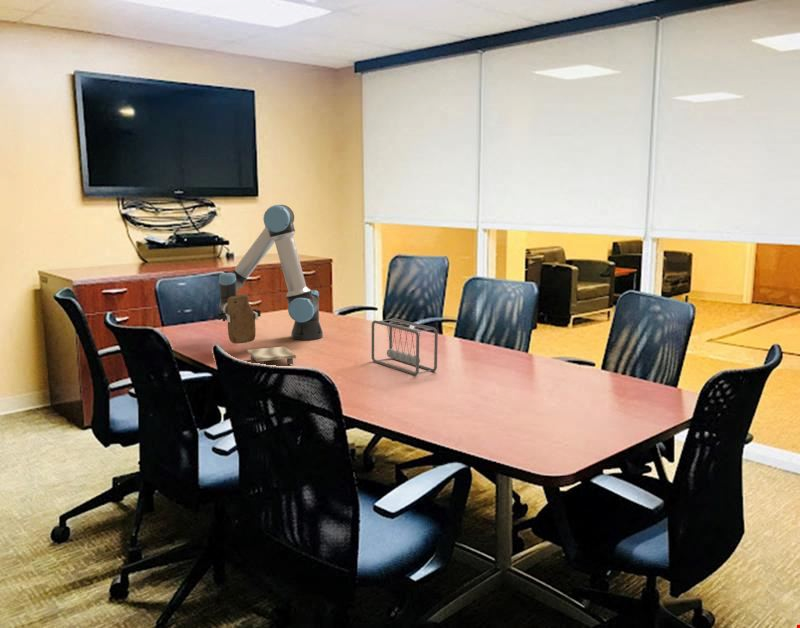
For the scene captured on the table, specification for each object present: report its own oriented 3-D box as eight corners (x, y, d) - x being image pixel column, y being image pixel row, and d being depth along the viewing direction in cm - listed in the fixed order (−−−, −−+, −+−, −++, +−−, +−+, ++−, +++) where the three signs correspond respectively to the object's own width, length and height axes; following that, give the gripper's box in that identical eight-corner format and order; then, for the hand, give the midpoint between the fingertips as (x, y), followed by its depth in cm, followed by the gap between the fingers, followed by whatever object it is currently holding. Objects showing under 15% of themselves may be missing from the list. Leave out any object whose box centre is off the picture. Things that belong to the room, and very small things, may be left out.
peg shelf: (285, 356, 294) (285, 346, 293) (296, 365, 279) (295, 355, 278) (247, 359, 287) (247, 349, 287) (256, 368, 272) (256, 358, 271)
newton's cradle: (371, 361, 286) (371, 319, 283) (390, 358, 293) (391, 317, 290) (417, 376, 263) (417, 331, 260) (437, 372, 270) (438, 328, 266)
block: (232, 344, 288) (230, 297, 285) (227, 341, 294) (224, 295, 291) (257, 341, 293) (255, 295, 290) (251, 338, 300) (249, 293, 296)
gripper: (259, 316, 314) (271, 324, 294) (207, 320, 304) (215, 329, 284) (258, 299, 312) (270, 306, 292) (206, 303, 303) (214, 311, 283)
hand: (243, 317), depth 288 cm, fingers closed on block, 11 cm apart
